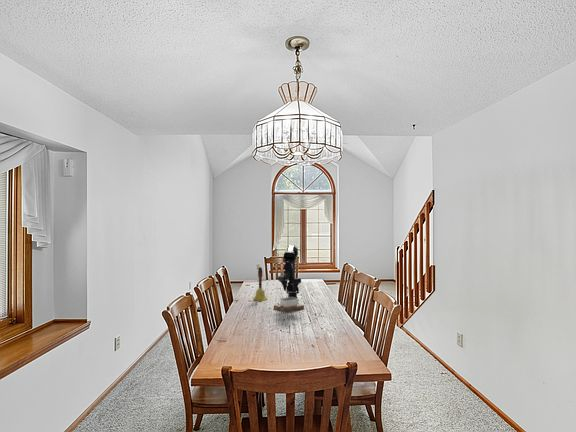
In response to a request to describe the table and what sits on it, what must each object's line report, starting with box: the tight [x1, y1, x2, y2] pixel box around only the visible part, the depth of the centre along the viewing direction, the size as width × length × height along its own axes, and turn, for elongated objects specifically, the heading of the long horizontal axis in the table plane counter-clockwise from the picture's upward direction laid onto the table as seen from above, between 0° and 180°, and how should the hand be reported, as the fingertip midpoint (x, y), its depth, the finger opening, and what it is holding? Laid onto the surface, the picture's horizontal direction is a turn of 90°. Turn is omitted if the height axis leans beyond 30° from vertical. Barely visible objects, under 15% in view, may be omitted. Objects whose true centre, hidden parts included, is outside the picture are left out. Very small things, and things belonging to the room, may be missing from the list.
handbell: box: [252, 266, 269, 302], centre depth 307 cm, size 12×12×25 cm
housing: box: [280, 296, 298, 307], centre depth 274 cm, size 10×6×5 cm, turn 126°
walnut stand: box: [273, 303, 305, 313], centre depth 274 cm, size 14×16×2 cm
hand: (289, 291), depth 275 cm, fingers open, 9 cm apart
